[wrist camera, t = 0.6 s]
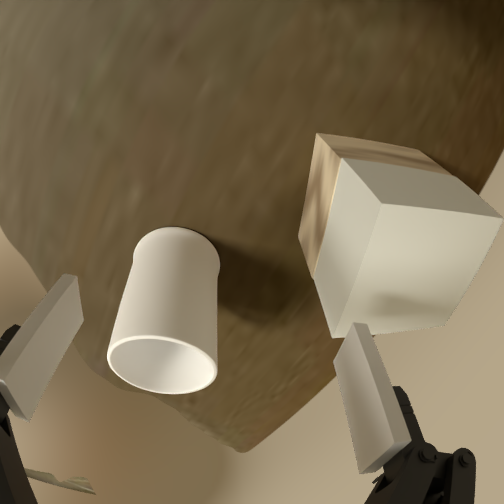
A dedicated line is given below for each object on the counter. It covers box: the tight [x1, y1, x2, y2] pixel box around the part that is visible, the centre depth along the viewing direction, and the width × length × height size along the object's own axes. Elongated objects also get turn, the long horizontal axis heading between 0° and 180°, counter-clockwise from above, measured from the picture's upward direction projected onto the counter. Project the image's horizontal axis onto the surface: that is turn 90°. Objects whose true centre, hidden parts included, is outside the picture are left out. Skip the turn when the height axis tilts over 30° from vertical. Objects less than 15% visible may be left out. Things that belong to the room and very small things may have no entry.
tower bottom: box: [298, 133, 453, 279], centre depth 24 cm, size 10×10×6 cm
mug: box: [107, 227, 220, 394], centre depth 26 cm, size 12×8×12 cm
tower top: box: [313, 158, 504, 338], centre depth 20 cm, size 10×10×6 cm
